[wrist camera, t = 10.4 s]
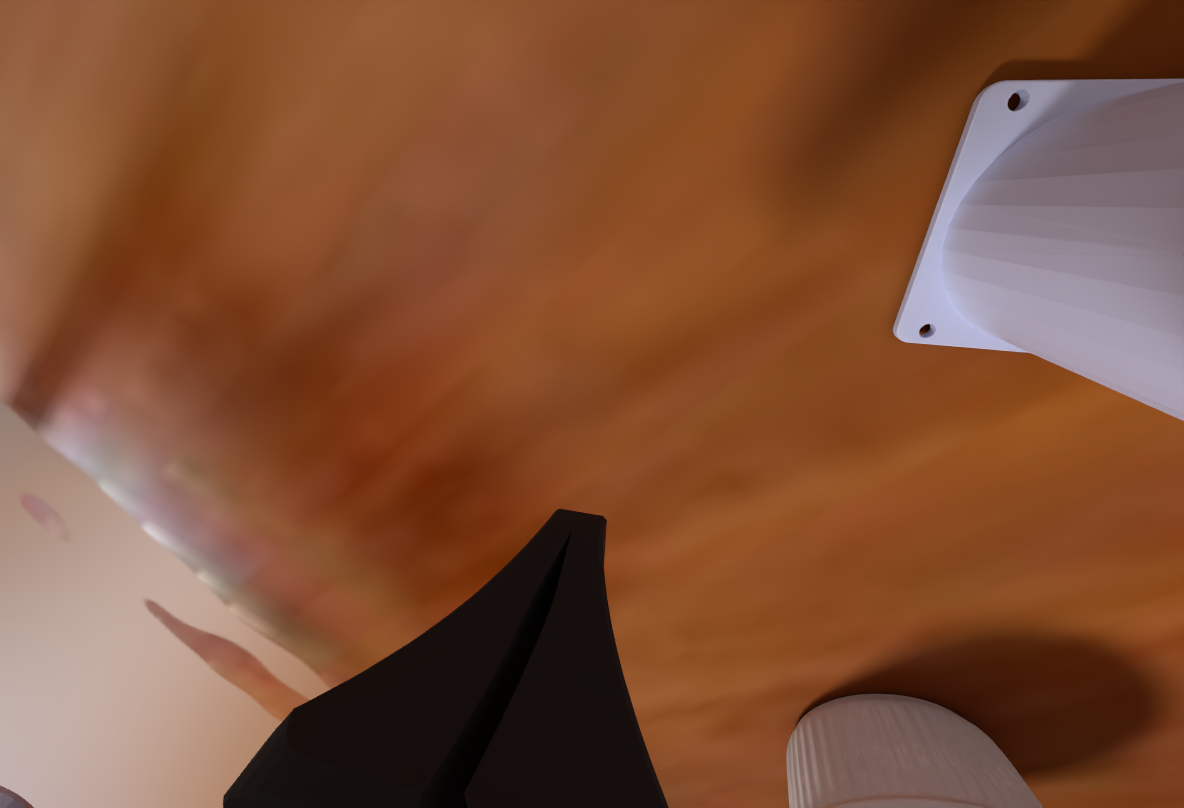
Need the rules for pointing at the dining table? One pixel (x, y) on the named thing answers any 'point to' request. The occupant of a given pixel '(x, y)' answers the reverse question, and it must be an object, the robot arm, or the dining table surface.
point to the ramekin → (897, 758)
